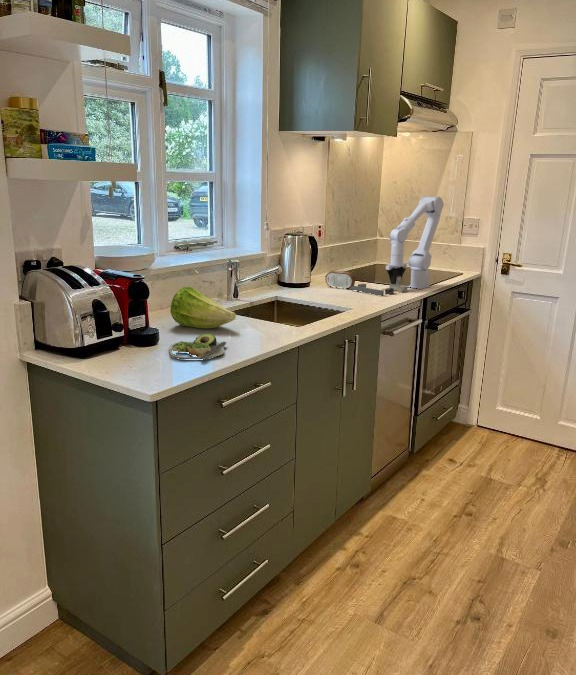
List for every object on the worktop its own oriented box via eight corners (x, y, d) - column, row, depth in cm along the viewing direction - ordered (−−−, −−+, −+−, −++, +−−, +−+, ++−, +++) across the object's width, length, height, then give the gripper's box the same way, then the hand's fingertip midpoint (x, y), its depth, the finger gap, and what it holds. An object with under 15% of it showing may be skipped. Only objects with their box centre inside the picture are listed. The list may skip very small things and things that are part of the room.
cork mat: (391, 288, 283) (391, 287, 283) (408, 290, 276) (408, 290, 276) (381, 290, 278) (381, 289, 278) (399, 293, 271) (399, 292, 271)
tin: (355, 289, 279) (355, 272, 277) (352, 290, 277) (353, 273, 274) (327, 286, 287) (327, 269, 284) (324, 287, 284) (324, 270, 282)
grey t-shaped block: (393, 287, 279) (394, 275, 278) (406, 290, 274) (408, 278, 273) (389, 288, 277) (390, 276, 275) (402, 291, 272) (404, 279, 270)
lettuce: (246, 330, 207) (221, 343, 195) (192, 317, 218) (165, 329, 206) (246, 291, 202) (221, 303, 190) (190, 280, 213) (163, 290, 201)
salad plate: (231, 363, 168) (231, 347, 167) (169, 366, 165) (168, 350, 163) (225, 344, 186) (225, 331, 185) (169, 347, 183) (168, 333, 182)
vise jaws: (361, 288, 282) (361, 283, 282) (394, 293, 269) (395, 288, 268) (349, 290, 276) (349, 285, 275) (383, 296, 263) (383, 291, 262)
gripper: (398, 252, 280) (397, 280, 284) (381, 255, 270) (379, 284, 274) (411, 254, 275) (409, 282, 279) (393, 256, 265) (391, 286, 269)
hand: (395, 283), depth 276 cm, fingers closed on grey t-shaped block, 4 cm apart
